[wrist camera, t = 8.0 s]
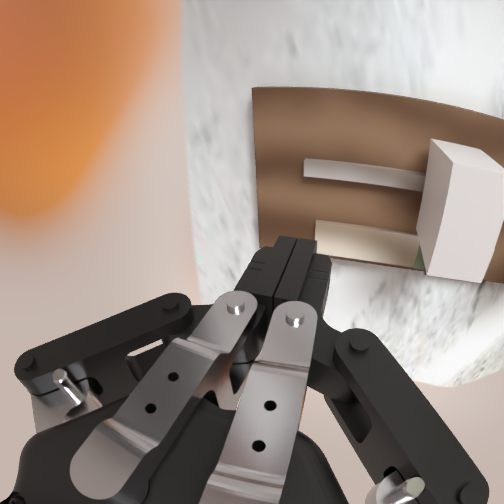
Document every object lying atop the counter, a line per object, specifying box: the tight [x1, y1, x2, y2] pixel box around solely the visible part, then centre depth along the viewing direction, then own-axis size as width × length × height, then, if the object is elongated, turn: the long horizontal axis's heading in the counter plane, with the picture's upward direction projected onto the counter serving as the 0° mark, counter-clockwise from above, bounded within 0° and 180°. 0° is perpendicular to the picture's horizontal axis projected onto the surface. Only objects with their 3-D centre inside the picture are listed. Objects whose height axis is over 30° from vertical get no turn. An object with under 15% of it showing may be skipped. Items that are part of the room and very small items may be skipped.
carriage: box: [416, 139, 504, 283], centre depth 18 cm, size 11×4×6 cm, turn 3°
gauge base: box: [252, 87, 504, 283], centre depth 18 cm, size 14×30×8 cm, turn 93°
